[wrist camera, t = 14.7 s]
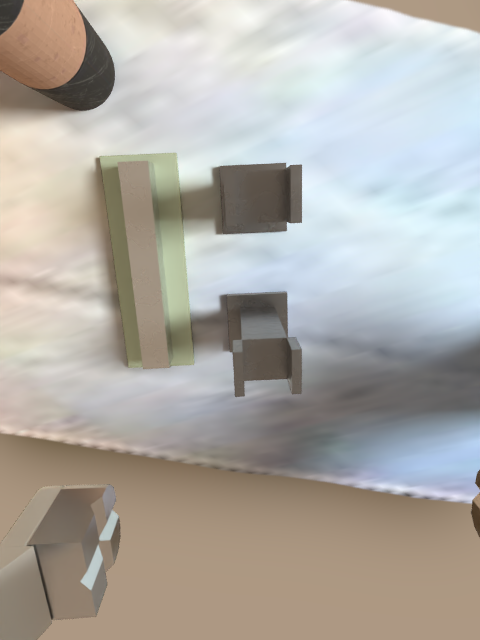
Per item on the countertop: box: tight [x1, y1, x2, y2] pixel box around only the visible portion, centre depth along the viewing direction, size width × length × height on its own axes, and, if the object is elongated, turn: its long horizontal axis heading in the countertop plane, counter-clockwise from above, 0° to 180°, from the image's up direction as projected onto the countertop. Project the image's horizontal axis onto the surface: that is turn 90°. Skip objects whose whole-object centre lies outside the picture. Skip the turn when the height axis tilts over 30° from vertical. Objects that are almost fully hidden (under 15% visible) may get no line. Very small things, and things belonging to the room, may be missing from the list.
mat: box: [100, 153, 194, 368], centre depth 44 cm, size 8×24×1 cm, turn 3°
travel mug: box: [0, 0, 115, 110], centre depth 29 cm, size 8×8×20 cm
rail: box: [117, 161, 173, 369], centre depth 42 cm, size 3×22×3 cm, turn 3°
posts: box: [220, 163, 302, 397], centre depth 37 cm, size 7×21×15 cm, turn 3°
